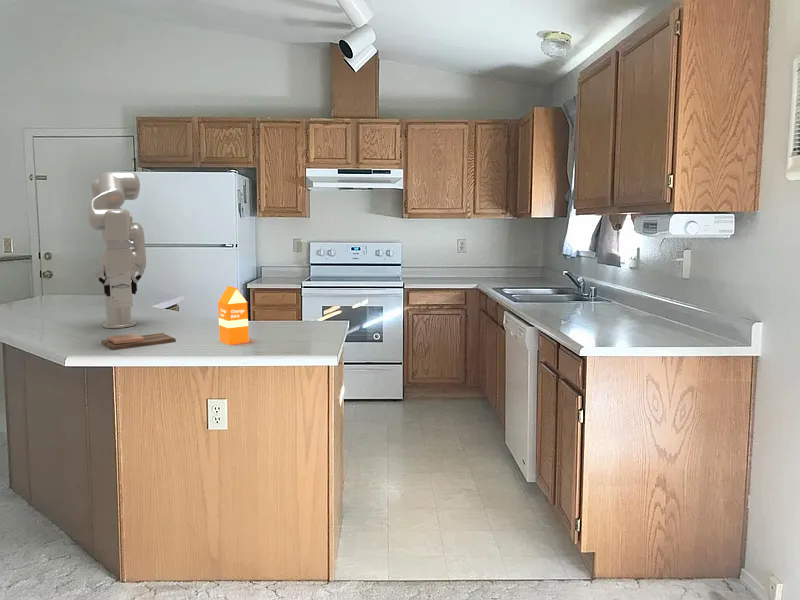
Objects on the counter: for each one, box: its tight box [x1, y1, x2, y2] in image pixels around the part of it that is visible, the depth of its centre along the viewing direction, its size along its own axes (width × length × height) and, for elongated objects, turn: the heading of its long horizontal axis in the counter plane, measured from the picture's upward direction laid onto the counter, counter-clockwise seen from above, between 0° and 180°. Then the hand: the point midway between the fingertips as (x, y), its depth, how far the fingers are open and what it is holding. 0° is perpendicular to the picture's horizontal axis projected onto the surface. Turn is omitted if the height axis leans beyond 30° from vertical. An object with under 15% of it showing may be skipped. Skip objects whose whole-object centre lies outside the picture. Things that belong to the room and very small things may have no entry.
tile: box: [107, 333, 145, 344], centre depth 241 cm, size 10×10×1 cm
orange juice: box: [217, 285, 250, 346], centre depth 243 cm, size 8×9×20 cm
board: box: [100, 332, 176, 351], centre depth 243 cm, size 14×22×1 cm, turn 127°
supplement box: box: [109, 271, 134, 308], centre depth 239 cm, size 7×7×13 cm
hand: (121, 294), depth 238 cm, fingers closed on supplement box, 8 cm apart
